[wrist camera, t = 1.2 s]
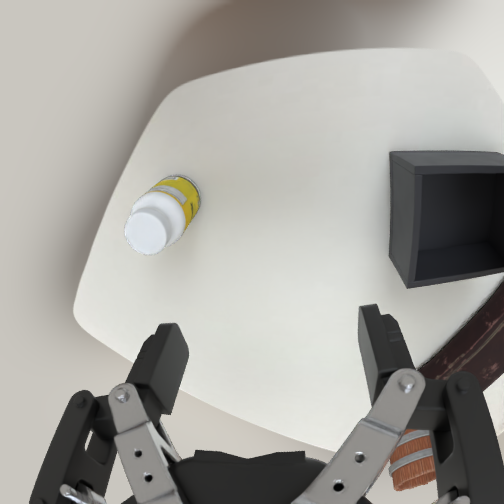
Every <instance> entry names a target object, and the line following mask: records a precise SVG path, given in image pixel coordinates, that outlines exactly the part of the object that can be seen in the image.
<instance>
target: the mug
mask: <svg viewBox="0 0 504 504" xmlns="http://www.w3.org/2000/svg"><path fill="white" fill-rule="evenodd" d="M390 464H391V466H390V467H389V474H390V477H392V478H393V485H394V489H395V490H396V491H402V490H404V489H411V488H414V487H417V486H420V485H425V484H428V482H431V481H433V480H435V479H436V473H435V465H434V459H433V452H432V446H431V440H430V435H429V430H415V429H407V430H406V431H405V433H404V435H403V437H402V439H401V440H400V442H399V444H398V446H397V447H396V449H395V451H394V453H393V454H392V456H391V458H390Z"/></svg>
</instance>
